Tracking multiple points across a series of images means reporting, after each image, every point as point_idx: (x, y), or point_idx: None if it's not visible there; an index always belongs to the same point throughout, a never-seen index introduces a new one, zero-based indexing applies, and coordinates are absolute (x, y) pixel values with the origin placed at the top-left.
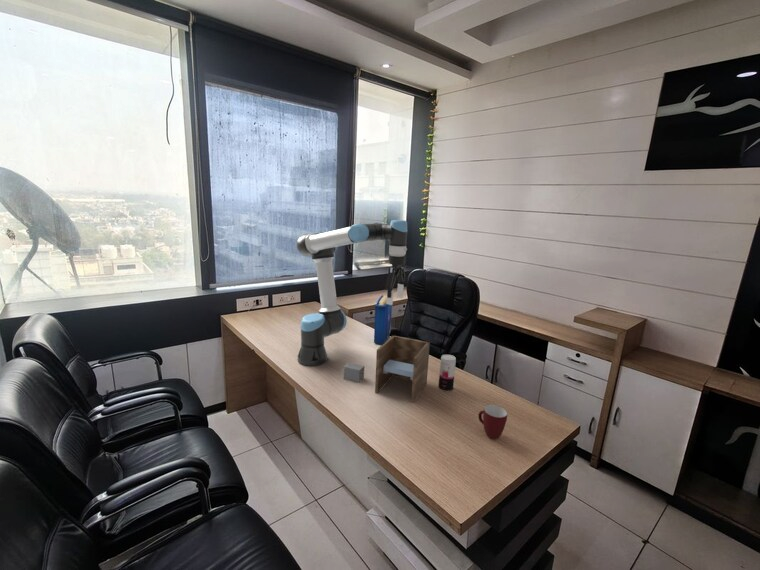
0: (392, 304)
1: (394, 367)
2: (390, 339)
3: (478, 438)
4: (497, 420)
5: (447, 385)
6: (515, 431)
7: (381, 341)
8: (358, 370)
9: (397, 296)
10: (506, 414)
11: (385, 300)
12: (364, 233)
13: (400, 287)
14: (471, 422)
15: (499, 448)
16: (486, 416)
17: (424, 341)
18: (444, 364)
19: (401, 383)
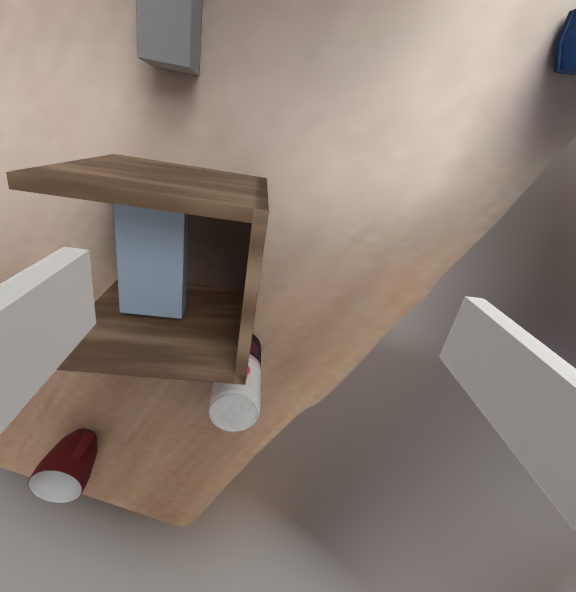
0: (89, 323)
1: (120, 237)
2: (199, 210)
3: (60, 417)
4: (34, 484)
5: None
6: (124, 465)
7: (563, 57)
8: (138, 51)
9: (470, 306)
10: (67, 497)
11: None
12: None
13: (552, 438)
14: (110, 404)
15: (51, 445)
16: (36, 468)
17: (246, 365)
18: (212, 393)
19: (217, 227)
